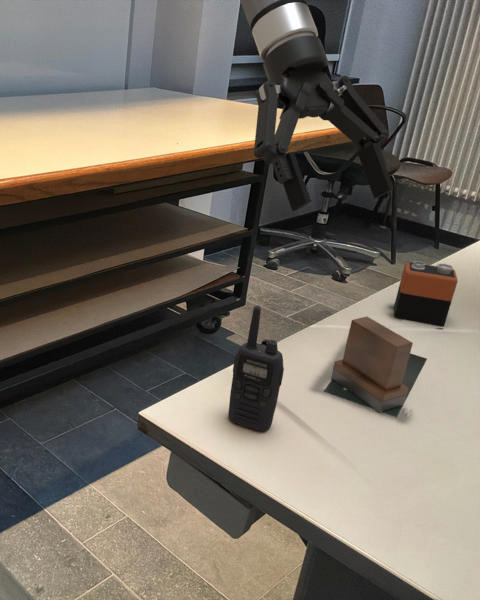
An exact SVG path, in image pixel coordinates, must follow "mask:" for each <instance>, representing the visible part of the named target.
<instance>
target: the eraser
mask: <svg viewBox="0 0 480 600" xmlns="http://www.w3.org/2000/svg"><path fill="white" fill-rule="evenodd" d="M345 343H346V344H345V348H344V353H343V357H342V359H338V360H335V361H334V362H333V366H332V370H331V376H330V379H331V380H332V379H333V380H335V381H336V382H337V383H339V384H340V385H342V386H343V387H344V388H346V389H347V390H349V391H350V392H351V393H353V394H354V395H356V396H357V397H358V398H360V399H361V400H363V401H364V402H365V403H367V404H368V405H370V406H371V407H372V408H374V409H375V410H374V409H373V410H374V411H377V412H378V413H383V412H382V411H385V410H389V409H392V408H395V407H398V406H402V405H403V406H404V405H405V403H404V402H406V401H405V399H406V395H407V392H408V387H407V386H405V385H404V384H402V380H403V377H404V373H405V370H406V366H407V362H408V359H409V355H410V354H411V352H412V348H413V344H414V343H413V342H412V341H411V340H409V339H407V338H406V337H404V336H402V335H400V334H399V333H396V332H395V331H393V330H392V329H390V328H388V327H386V326H385V325H383V324H381V323H379V322H378V321H376V320H374V319H372V318H371V317H369V316H363V317H358V318H354V319H351V322H350V326H349V331H348V335H347V339H346V342H345ZM406 400H407V399H406ZM403 406H402V407H403Z"/></svg>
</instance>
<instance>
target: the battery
mask: <svg viewBox="0 0 480 600" xmlns="http://www.w3.org/2000/svg"><path fill="white" fill-rule="evenodd" d="M403 266H404V267H403V270H402V273H401V278H400V281H399V285H398V289H397V293H396V297H395V301H394V304H393V317H394V318H395V319H398V320H403V321H409V322H414V323H419V324H425V325H429V326H436V327H435V329H436V330H437V329H438V330H444V328H443V327H445V324H446V322H447V318H448V314H449V311H450V309H451V305H452V301H453V298H454V294H455V291H456V288H457V284H458V282H459V281H458V277H457V272H456V270H455V269H454V266H453V265H450V264H447V263H437V265H432V264H426V263H425V262H423V261H419V260H414V261H413V262H412V261H406V262H405V263H404V265H403Z"/></svg>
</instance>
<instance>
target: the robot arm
mask: <svg viewBox="0 0 480 600" xmlns="http://www.w3.org/2000/svg"><path fill="white" fill-rule="evenodd" d="M239 2H240V4H241V6H242V9H243V12H244V14H245V17H246V20H247V23H248V25H249V28H250V31H251V35H252V37H253V39H254V42H255V45H256V48H257V51H258V54H259V57H260V59H261V61H263V64H262V66H263V69H264V71H265V75H266V77H267V80H266V81H265V82H264V83H263V84H262V85H261V86H259V88H258V89H257V90H256V91H255V97H256V102H257V106H258V107H257V117H256V126H255V136H254V146H253V155H254V157H255V158H257V159H262V158H263V161H264V164H266V165H272V167H273V170H274V173H275V177H276V178H277V179H276V180H277V181H278V183H279V184H280V185H283V189H284V191H285V194H286V197H287V200H288V203H289V206H290V209H291V211H292V212H295V211H299V210H300V209H302V208H303V207H305V206H307V205H308V204H310V203H311V202H312V200H311V197H310V194H309V191H308V188H307V185H306V183H305V180H304V177H303V174H302V171H301V169H300V165H299V163H298V159H297V157H296V154H295V151H291V152H288V150H289V146H290V144H291V141H292V139H293V136H294V133H295V130H296V127H297V125H298V122H299V120H300V119H305V118H308V117H309V118H318V117H319V118H320V119H321V120H322V121H328V122H329V123H330V124H332V126H334V127H335V128H336V129H337V130H339V132H341V133H342V134H343V135H344V136H345V137H346V138H348V139H349V140H350V141H351V142H352V143H353V144H355V145H356V146H357V147H358V148H359V149H360V151H358V152H357V155H358V157H359V160H360V163H361V167H362V169H363V172H364V175H365V177H366V180H367V183H368V186H369V189H370V192H371V194H372V196H373V199H379V198H381V197H383V196H385V195H386V194H389V193H390V192H392V191H393V190H395V188H394V185H393V183H392V180H391V177H390V175H389V172H388V169H387V161H386V158H385V155H384V152H383V150H382V147H381V142H383V141H384V140H385V139H387V138H388V137H389V136H390V132H389V130H388V129H387V128H386V126H385V125H384V124H383V123H382V122H381V120H380V119H379V118H378V117H377V115H376V114H375V113H374V112H373V111H372V109H371V108H370V107H369V106H368V105H367V103H366V102H365V101H364V99H363V98H362V97H361V96H360V95H359V94H358V92H357V91H356V90H355V87H354V86H353V84H352V81H351V79H350V78H349V77H348V76H347V75H342V76H341V77H340V78H339V79H338V80H332V79H330V77H329V76H328V74H327V68H328V64H329V59H328V56H327V55H326V51H325V48H324V45H323V43H322V40H321V38H319V32H318V27H317V26H316V24H315V21H314V18H313V16H312V12H311V10H310V8H309V6H308V3H307V1H306V0H239ZM278 102H280V103H281V104H282V105H283V107H282V110H281V113H280V116H279V117H278V118H279V122H278V125H277V116H278V105H279V103H278ZM331 104H332V105H331ZM276 126H277V128H276ZM287 152H288V153H287Z"/></svg>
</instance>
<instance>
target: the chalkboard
mask: <svg viewBox="0 0 480 600" xmlns="http://www.w3.org/2000/svg"><path fill="white" fill-rule="evenodd" d="M427 361H428V358H426V357H423V356H420V355H417V354H413V353H410V355H409V359H408V362H407V366H406V370H405V373H404V377H403V380H402V384H404V385H405V386H407V387H408V392H407V395H406V399H405V402H406V401H407V399H408V397H409V396H410V393H411V391H412V390H413V388H414V385H415V383H416V382H417V379H418V377H419V375H420V373H421V372H422V370H423V368H424V366H425V364H426V362H427ZM323 393H325V394H329V395H332V396H334V397H338V398H340V399H343V400H346V401H348V402H352V403H354V404H357V405H360V406H363V407H366V408H369V409H372V410H374V411H376V410H375V409H374V408H372V407H371V406H370V405H368V404H367V403H365V402H364V401H363V400H361V399H360V398H358V397H357V396H356V395H354V394H353V393H351V392H350V391H349V390H347V389H346V388H344V387H343V386H342V385H340V384H339V383H337V382H336V381H335V380H333V379H332V378H331V380H330V382H329V383H328V384H327V386H326V387H325V388H324V390H323ZM405 402H404V404H405ZM403 407H404V405H402V406H398V407H395V408H392V409H389V410H385V411H382V412H381V413H382V414H385V415H389V416H392V417H394V418H398V416H399V414H400V412H401V410H402V409H403Z"/></svg>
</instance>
